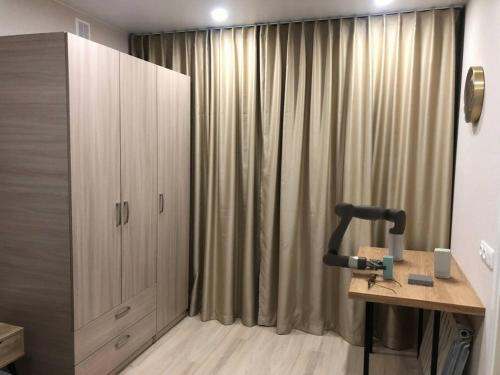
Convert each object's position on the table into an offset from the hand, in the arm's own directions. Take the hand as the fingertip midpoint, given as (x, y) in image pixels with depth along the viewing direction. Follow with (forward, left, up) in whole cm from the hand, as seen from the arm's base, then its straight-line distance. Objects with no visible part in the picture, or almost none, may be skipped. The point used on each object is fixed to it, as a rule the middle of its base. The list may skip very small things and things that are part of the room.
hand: (387, 266), depth 228 cm
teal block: (0, +1, -7) cm, 7 cm away
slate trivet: (+1, +18, -6) cm, 19 cm away
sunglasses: (+18, +1, -7) cm, 19 cm away
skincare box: (-14, +29, -7) cm, 32 cm away
